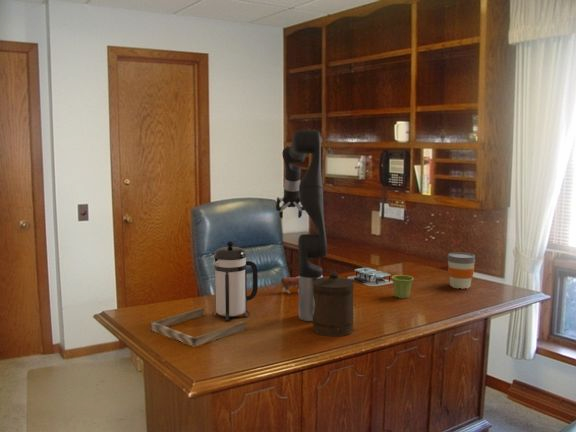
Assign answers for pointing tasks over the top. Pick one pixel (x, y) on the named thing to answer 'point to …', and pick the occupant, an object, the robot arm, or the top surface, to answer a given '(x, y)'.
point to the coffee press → (232, 281)
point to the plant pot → (402, 285)
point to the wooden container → (333, 306)
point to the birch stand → (162, 328)
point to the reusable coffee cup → (460, 269)
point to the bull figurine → (290, 283)
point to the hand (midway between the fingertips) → (290, 217)
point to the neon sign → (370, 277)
